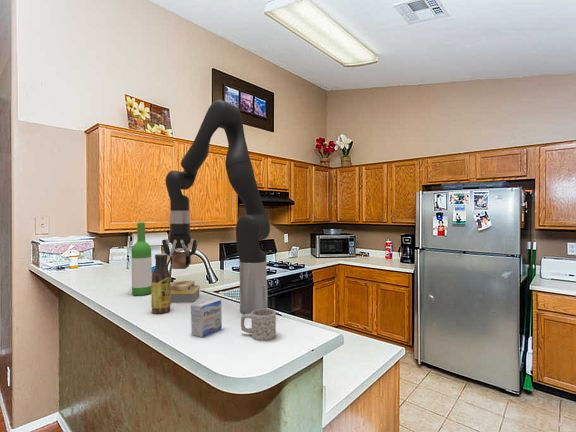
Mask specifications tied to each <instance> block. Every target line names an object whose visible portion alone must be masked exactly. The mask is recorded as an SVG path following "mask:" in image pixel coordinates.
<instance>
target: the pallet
mask: <svg viewBox="0 0 576 432" xmlns="http://www.w3.org/2000/svg"><path fill="white" fill-rule="evenodd" d="M194 285H195V280H174V281H173V282H171V291H187V290H188V288H191V287H192V286H194Z"/></svg>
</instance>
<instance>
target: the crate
mask: <svg viewBox="0 0 576 432" xmlns="http://www.w3.org/2000/svg"><path fill="white" fill-rule="evenodd" d="M189 267H190V265H189V266H186V253H185V251H176V252H174V253H172V264H171V269H172V270H186V269H188V268H189Z"/></svg>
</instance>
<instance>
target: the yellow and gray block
mask: <svg viewBox="0 0 576 432" xmlns="http://www.w3.org/2000/svg"><path fill="white" fill-rule="evenodd" d="M200 288H201V286H200V285H199V284H198V285H194V286H192V287H191V288H188V290H187V291H171V303H194V302H195V301H196V300H197V299H198V298H199V297H200Z"/></svg>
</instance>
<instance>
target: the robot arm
mask: <svg viewBox="0 0 576 432" xmlns="http://www.w3.org/2000/svg"><path fill="white" fill-rule="evenodd" d="M203 117H204V118H203V120H202V121H201V124H200V127H199V129H198V131H197V132H196V133H197V134H196V136H195V137H194V139H193V142H192V144H191V146H190V147H189V149H188V150H187V152H186V153H185V155H184V156H183V157H182V159H181V161H180V166H181V167H182V169H183V171H182V170H181V171H179V170H171V171H170V170H169V172H168V173H167V174H166V176H165V186H166V190H167V195H168V197H169V200H170V204H169V205H170V212H169V213H170V214H169V238H166V239H162V240H161V242H162V243H161V244H162V247H163V251H164V254H167V256H169V257H170V258H169V260H170V261H169V262H170V263H169V264H170V265H172V253H174V252H177V251H178V249H182V250H183V252H185V253H186V266H189V267H190V265H191V264H192V263H191V262H192V261H191V260H192V259H191V258H192V256H193V255H196V253H197V247H198V243H199V239H194V238H192V237H191V216H190V215H191V214H190V199H189V197H188V196H186V195H184V194H183V192H182V190H183V191H184V190H189V189H190V188H191V187H193V185H194V183H195V181H196V178H197V174H198V171H199V170H200V168H201V167H202V165H203V164H204V162H205V161H206V159H207V158H208V155H209V151H210V143H211V140H212V137H213V136H214V133H215V132H216V131H217V130H218V129H219V128H220V129H222V130H223V131H224V132H225V136H226V139H227V144H228V145H227V146H228V147H227V153H226V157H225V162H224V163H225V169H226V173H227V178H228V182H229V183H230V184H229V185H230V186H231V187H232V189H233V191H234V192H235V193H236V194H237V196H238V198H239V199H240V201H241V202H242V204H243V206H244V209H245V213H246V214H244V215H241V216H240V217H239V218H238V219H237V222H236V224H235V225H236V226H235V242H236V251H237V255H238V257H239V312H240V313H241V314H242V315H244V314H251V312H252V311H254V310H257V309H268V281H267V253H266V252H265V251H263V250H262V249H261V247H260V241H263V240H265V239H267V238H268V237H269V235H270V232H271V224H270V220H269V217H268V214H267V212H266V209H265V207H264V204H263V200H262V198H261V195H260V194H261V193H260V191H259V186H258V184H257V180H256V176H255V171H254V167H253V164H252V160H251V157H250V153H249V149H248V145H247V141H246V137H245V131H244V129H245V128H244V123H243V122H244V121H243V116H242V113H241V110H240V109H239V108H238V107H237V106H235V105H234V104H232V103H230V102H227V101H224V100H223V99H216V100H215V101H213V102H212V103H211V105H210V106H209V107H208V109H207V111H206V113H205V115H204V116H203ZM190 243H191V250H190V246H189V244H190ZM169 244H170V245H171V249H170V247H169Z"/></svg>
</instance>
